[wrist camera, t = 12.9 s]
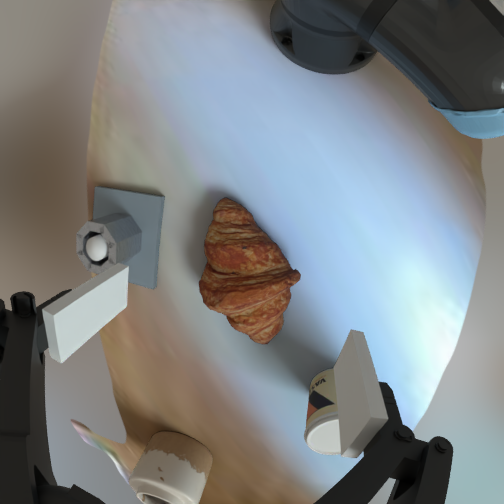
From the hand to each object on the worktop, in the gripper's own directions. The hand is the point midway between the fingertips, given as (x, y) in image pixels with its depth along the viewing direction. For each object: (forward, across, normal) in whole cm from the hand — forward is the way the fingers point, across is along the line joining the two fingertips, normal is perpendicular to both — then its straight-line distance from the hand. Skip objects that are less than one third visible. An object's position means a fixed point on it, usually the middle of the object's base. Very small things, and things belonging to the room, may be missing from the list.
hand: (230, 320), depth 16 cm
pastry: (+25, -2, -7) cm, 26 cm away
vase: (+24, -7, -55) cm, 60 cm away
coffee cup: (+24, +16, -23) cm, 37 cm away
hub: (+23, -21, -6) cm, 32 cm away
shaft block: (+24, -22, -6) cm, 33 cm away
